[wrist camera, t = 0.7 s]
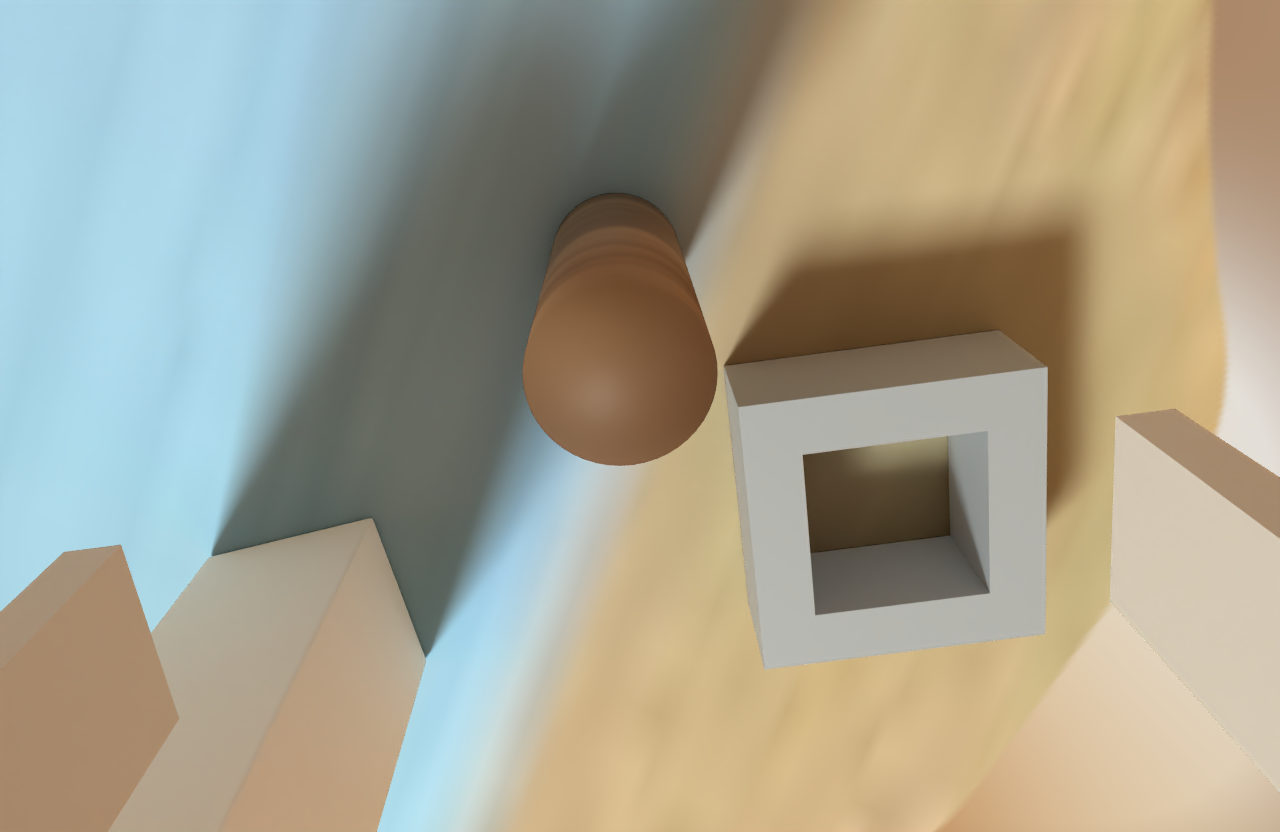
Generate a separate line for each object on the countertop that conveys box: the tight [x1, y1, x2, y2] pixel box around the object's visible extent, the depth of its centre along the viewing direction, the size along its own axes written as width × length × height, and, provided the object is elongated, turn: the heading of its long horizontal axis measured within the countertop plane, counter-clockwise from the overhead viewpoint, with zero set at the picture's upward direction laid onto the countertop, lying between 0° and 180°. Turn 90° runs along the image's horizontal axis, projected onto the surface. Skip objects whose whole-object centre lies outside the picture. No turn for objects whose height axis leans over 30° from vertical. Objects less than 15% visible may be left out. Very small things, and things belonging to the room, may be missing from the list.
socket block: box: [724, 330, 1048, 669], centre depth 33 cm, size 9×9×4 cm
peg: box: [523, 193, 717, 466], centre depth 27 cm, size 4×4×12 cm
